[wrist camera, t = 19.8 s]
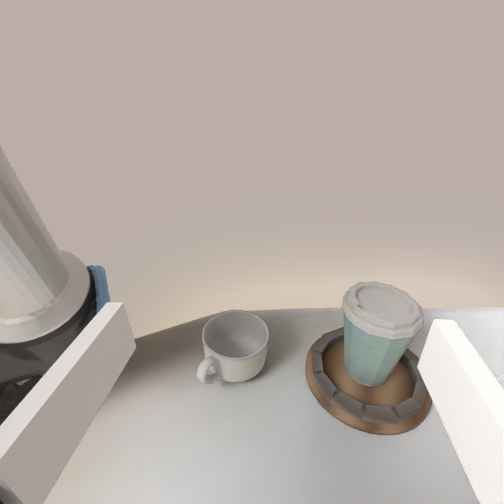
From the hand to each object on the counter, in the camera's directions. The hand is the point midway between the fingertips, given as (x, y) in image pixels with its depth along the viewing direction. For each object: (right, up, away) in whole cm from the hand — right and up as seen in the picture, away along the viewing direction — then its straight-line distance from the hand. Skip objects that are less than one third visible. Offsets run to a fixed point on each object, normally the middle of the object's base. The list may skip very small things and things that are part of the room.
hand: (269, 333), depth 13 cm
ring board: (+18, -17, +35) cm, 43 cm away
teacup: (-4, -17, +37) cm, 41 cm away
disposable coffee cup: (+18, -16, +35) cm, 42 cm away
